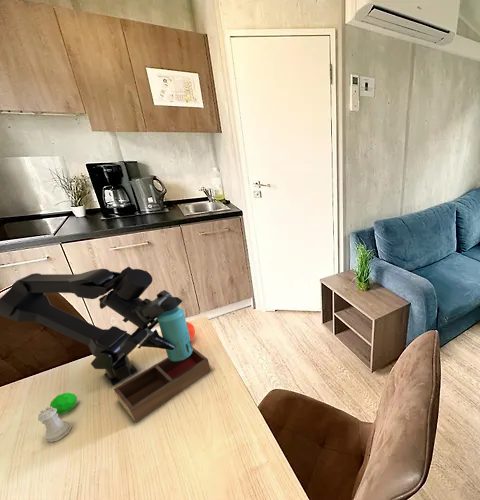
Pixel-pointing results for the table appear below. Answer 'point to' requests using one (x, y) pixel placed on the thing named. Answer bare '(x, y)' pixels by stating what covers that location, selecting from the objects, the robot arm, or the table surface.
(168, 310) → the beverage bottle
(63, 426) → the rook chess piece
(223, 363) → the table surface
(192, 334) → the apple
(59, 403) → the polyhedron
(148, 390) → the divided wooden tray
